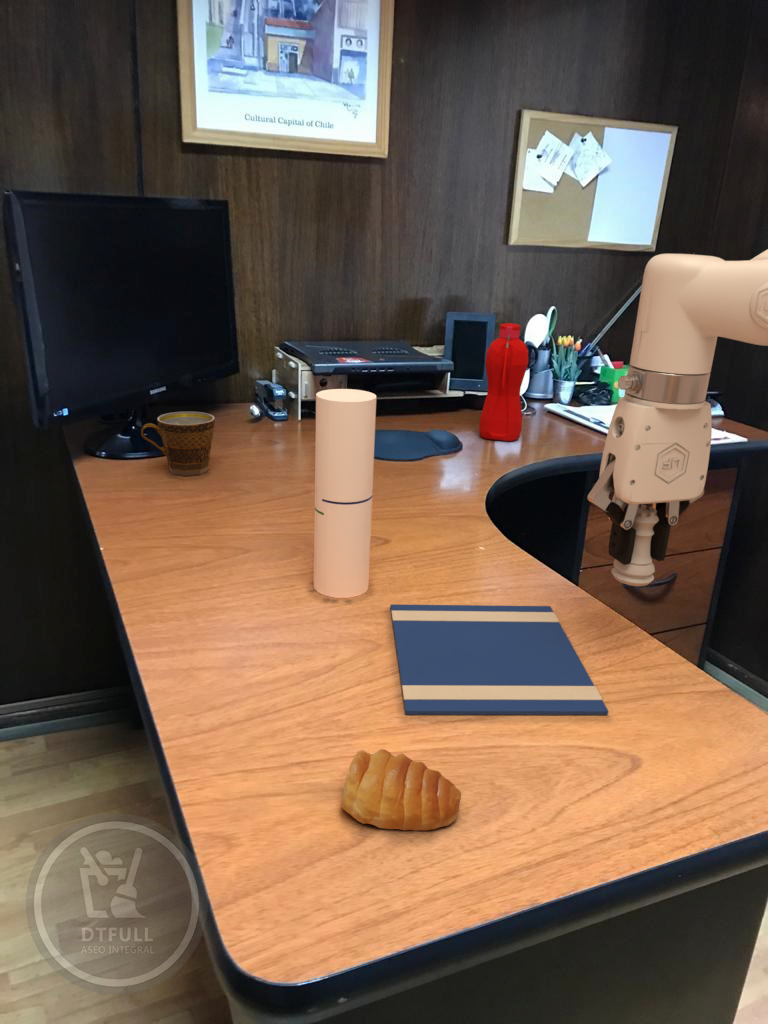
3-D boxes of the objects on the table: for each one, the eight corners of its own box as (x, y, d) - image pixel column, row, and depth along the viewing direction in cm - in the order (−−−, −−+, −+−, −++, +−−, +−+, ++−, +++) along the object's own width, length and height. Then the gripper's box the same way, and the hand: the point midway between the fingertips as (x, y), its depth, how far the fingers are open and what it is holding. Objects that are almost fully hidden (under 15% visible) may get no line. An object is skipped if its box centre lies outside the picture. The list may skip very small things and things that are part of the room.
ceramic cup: (209, 461, 148) (207, 409, 144) (222, 476, 140) (220, 422, 136) (139, 467, 143) (135, 414, 139) (148, 483, 134) (144, 427, 131)
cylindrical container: (349, 603, 96) (356, 404, 87) (302, 588, 99) (304, 395, 90) (378, 582, 102) (387, 394, 93) (333, 569, 105) (337, 386, 96)
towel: (549, 609, 96) (550, 605, 96) (607, 715, 76) (608, 710, 76) (390, 607, 95) (390, 603, 95) (405, 715, 75) (405, 709, 74)
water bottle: (475, 441, 170) (486, 325, 161) (481, 429, 180) (490, 319, 171) (518, 445, 168) (530, 328, 159) (521, 433, 178) (533, 322, 169)
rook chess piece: (657, 575, 84) (670, 507, 81) (649, 591, 80) (662, 519, 77) (615, 566, 86) (626, 498, 83) (606, 580, 82) (617, 510, 79)
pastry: (463, 789, 65) (467, 752, 64) (452, 848, 59) (456, 809, 57) (355, 769, 67) (357, 733, 65) (334, 825, 61) (335, 786, 59)
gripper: (616, 397, 70) (587, 580, 76) (761, 393, 75) (723, 565, 81) (572, 380, 76) (549, 550, 83) (708, 377, 82) (677, 538, 88)
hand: (636, 556), depth 82 cm, fingers closed on rook chess piece, 3 cm apart
